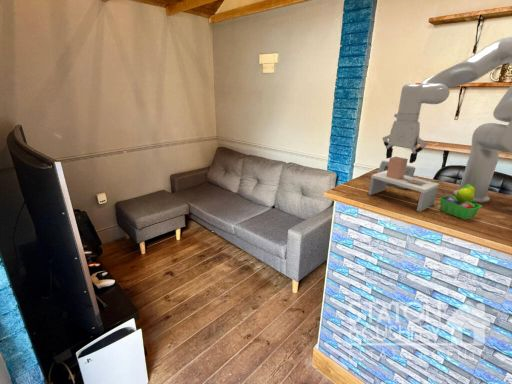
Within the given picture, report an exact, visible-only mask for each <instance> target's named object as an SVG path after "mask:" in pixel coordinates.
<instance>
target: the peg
mask: <svg viewBox="0 0 512 384" xmlns="http://www.w3.org/2000/svg"><path fill="white" fill-rule="evenodd" d="M408 160H409V158H404V157H401V156H393V157H391V158H389V160H388V161H389V165H388V170H387V175H386V176H387V177H390V178H394V179H401V178H403V177H404V174H405V170H406V165H408ZM388 184H389V185H388V186H390V185H393V186H399V185H395V184H392V183H388ZM393 186H392V187H393Z"/></svg>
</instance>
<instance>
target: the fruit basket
mask: <svg viewBox="0 0 512 384" xmlns="http://www.w3.org/2000/svg"><path fill="white" fill-rule="evenodd" d="M457 190H458V191H457V197H456V196H455V195H446V196H442V197H439V201H440V210H441V212H444V213H447V214H450V215H452V216H454V217H457V218H459V219H462V220H469V219H473V218H474V217H475V216H476V214H477V213H478V212H479V210H480V209H481V208H482V207H483V205H482V204H479V203H478V202H472V200H473V198H474V193H475V189H474V186H471V185H469V184H468V185H465V186H464V187H463V188H462V189H459V188H458V189H457Z"/></svg>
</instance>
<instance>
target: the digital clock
mask: <svg viewBox="0 0 512 384" xmlns="http://www.w3.org/2000/svg"><path fill="white" fill-rule="evenodd" d="M388 165H389V160H381V163H380V164H379V168H378V170H377V173H380V172H383V171H386V170H388ZM415 171H416V167H415V166H412V165H408V164H407V165H406V170H405V174H404V175H406V176H410V177H414V174H415ZM408 183H409V182H408ZM386 186H390V187H394V188H398V189H403V190H409V188H405V187H402V186H393V185H389V184H388V182H387V184H386Z"/></svg>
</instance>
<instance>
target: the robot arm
mask: <svg viewBox="0 0 512 384" xmlns="http://www.w3.org/2000/svg"><path fill="white" fill-rule="evenodd" d="M505 64H510V65H511V67H512V36H507V37H503V38H500V39H498V40H495V41H494V42H492V43H490V44H489V45H487V46H486V47H484V48H482V49H481V50H479V51H477V52H476V53H474V54H473V55H471V56H469V57H468V58H467V59H464V60H462V61H461V62H459V63H456V64H454V65H452V66H450V67H448V68H446V69H444V70H442V71H440V72H437V73H435V74H433V75H432V76H430V77H429V78H427V79H425V80H424V81H422V82H420V83H412V84H411V83H408V84H407V83H406V84H404V85H403V86H402V88H401V93H400V99H399V105H398V111H397V113H394V115H393V117H394V118H396V119H395V120H394V121H393V123H392V125H391V126H392V127H391V129H390V132H389V134H388V135H385V136H383V137H382V141H383V145H384V146H385V149H386V153H385V156H386V157H385V158H386V159H390V158H392V155H393V151H394V148H393V147H398V148H404V149H410V150H411V153H410V156H409V163H410V164H413V163H415V162H416V160H417V156H418V154H419V153H420V152H422V151H423V150H424V149H425V147H426V146H427V142H426V141H425V140H423V139H421V138H420V131H421V130H420V129H421V128H420V127H421V126H420V125H421V124H420V121H419V120H420V119H419V118H420V113H421V107H422V104H427V105H439V104H442V103H444V102H445V101H446V100H447V99H448V98H449V96H450V93H451V92H450V88H453V87H454V88H455V87H457V86H463V85H466V84H469V83H472V82H475V81H477V80H480V79H481V78H483V77H484V76H486V75H487V74H489V73H491V72H493V71H494V70H496V69H497V68H499V67H500V66H502V65H505ZM492 115H493V118H494V119H495V120H497V121H500V122H504V123H508V124H507V125H506V124H501V123H495V122H487V123H482V124H481V125H479V126H478V127H476V129H475V130H474V131H473V133H472V135H471V149H470V152H469V156H468V159H467V162H466V166H465V168H464V172H463V175H462V179H461V183H460V184H459V188H458V189H456V190H453V196H455V197H457V191H458V190H459V189H462V188H463V187H464V186H465V185H468V184H469V185H471V186H474V189H475V193H474V198H473V200H472V202H474V203H478V204H479V203H481V204H482V203H488V202H490V197H489V196H488V195H487V194H488V190H489V189H490V188H489V187H490V185H491V182H492V179H493V175H494V174H495V170H496V168H497V165H498V162H499V157H500V155H499V153H500V152H502V153H512V83H511V84H510V86H509V87H508V88H507V91H506V92H505V93H504V95H503V96H502V97H501V99H500V101H499V102H498V103H497V104H496V106H495V108H494V110H493V113H492ZM418 144H420V145H419V146H418Z"/></svg>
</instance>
